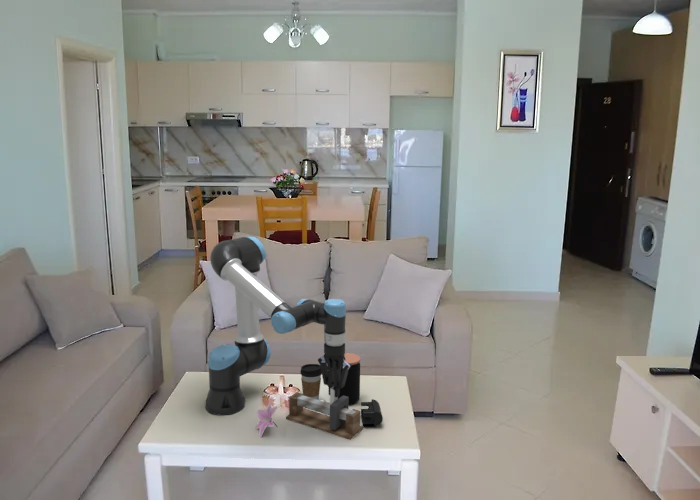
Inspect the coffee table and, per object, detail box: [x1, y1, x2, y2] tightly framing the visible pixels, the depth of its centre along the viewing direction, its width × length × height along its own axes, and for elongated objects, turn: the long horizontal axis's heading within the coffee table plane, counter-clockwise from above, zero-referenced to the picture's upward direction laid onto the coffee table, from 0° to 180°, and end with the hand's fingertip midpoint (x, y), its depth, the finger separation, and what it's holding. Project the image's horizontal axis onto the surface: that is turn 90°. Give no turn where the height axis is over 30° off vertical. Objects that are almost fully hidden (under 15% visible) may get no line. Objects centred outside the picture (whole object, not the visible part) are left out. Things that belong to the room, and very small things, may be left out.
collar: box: [330, 395, 350, 430], centre depth 218 cm, size 2×9×9 cm, turn 149°
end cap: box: [360, 399, 384, 429], centre depth 224 cm, size 10×7×7 cm
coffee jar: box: [333, 352, 361, 406], centre depth 240 cm, size 11×11×18 cm
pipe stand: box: [285, 391, 364, 441], centre depth 222 cm, size 28×9×8 cm, turn 59°
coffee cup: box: [299, 363, 322, 400], centre depth 238 cm, size 8×8×15 cm
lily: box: [254, 401, 278, 438], centre depth 217 cm, size 12×12×10 cm
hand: (333, 404), depth 218 cm, fingers closed
